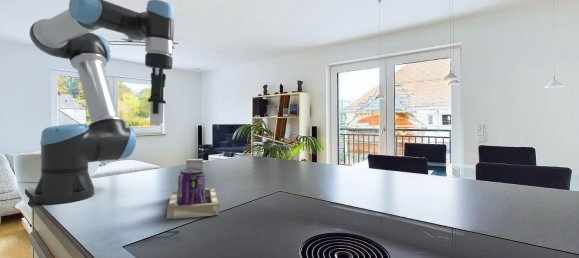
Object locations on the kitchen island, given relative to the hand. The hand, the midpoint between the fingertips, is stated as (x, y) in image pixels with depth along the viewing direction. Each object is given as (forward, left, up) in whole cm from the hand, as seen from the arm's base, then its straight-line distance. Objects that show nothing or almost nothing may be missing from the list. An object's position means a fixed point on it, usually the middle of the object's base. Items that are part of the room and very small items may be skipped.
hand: (156, 124), depth 85 cm
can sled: (+7, +11, -24) cm, 27 cm away
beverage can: (+12, +11, -25) cm, 29 cm away
